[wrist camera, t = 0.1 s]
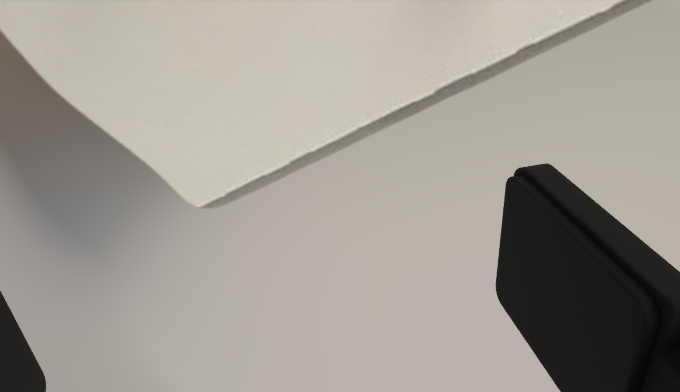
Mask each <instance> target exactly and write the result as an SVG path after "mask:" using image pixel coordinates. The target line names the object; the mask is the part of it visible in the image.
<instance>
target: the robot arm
mask: <svg viewBox="0 0 680 392" xmlns="http://www.w3.org/2000/svg"><path fill="white" fill-rule="evenodd" d="M496 292H497V296H498V299H499V301H500V303H501V305H502V306H503V307H504V309H505V311H506V312H507V314H508V315H509V316H510V318H511V319H512V321H513V322H514V324H515V325H516V327H517V328H518V330H519V331H520V333H521V334H522V336H523V337H524V339H525V340H526V342H527V343H528V344H529V346H530V347H531V349H532V350H533V352H534V353H535V354H536V356H537V358H538V359H539V361H540V362H541V364H542V365H543V366H544V368H545V369H546V371H547V372H548V374H549V375H550V377H551V378H552V380H553V381H554V382H555V384H556V386H557V387H558V388H559V390H560V391H561V392H680V272H679V271H678V270H677V269H675V268H674V267H673V266H672V265H671V264H669V263H668V262H667V261H666V260H665V259H663V258H662V257H661V256H660V255H658V254H657V253H656V252H655V251H654V250H652V249H651V248H650V247H649V246H648V245H647V244H645V243H644V242H643V241H642V240H640V239H639V238H638V237H637V236H636V235H635V234H633V233H632V232H631V231H630V230H628V229H627V228H626V227H625V226H624V225H623V224H621V223H620V222H619V221H618V220H617V219H615V218H614V217H613V216H612V215H611V214H609V213H608V212H607V211H606V210H605V209H603V208H602V207H601V206H600V205H599V204H597V203H596V202H595V201H594V200H593V199H591V198H590V197H589V196H588V195H586V194H585V193H584V192H583V191H582V190H581V189H579V188H578V187H577V186H576V185H575V184H573V183H572V182H571V181H570V180H569V179H567V178H566V177H565V176H564V175H563V174H561V173H560V172H559V171H558V170H557V169H555V168H554V167H553V166H552V165H549V164H540V165H534V166H528V167H523V168H518V169H517V170H516V171H515V173H514V176H513V177H510V178H508V180H507V183H506V189H505V199H504V209H503V218H502V229H501V238H500V248H499V258H498V268H497V278H496ZM0 392H46V381H45V376H44V374H43V371H42V370H41V368H40V366H39V364H38V362H37V360H36V358H35V356H34V354H33V352H32V351H31V349H30V347H29V345H28V343H27V341H26V339H25V337H24V336H23V333H22V331H21V329H20V328H19V326H18V324H17V322H16V320H15V318H14V316H13V314H12V312H11V310H10V308H9V307H8V305H7V303H6V301H5V299H4V297H3V295H2V293H1V291H0Z"/></svg>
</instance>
